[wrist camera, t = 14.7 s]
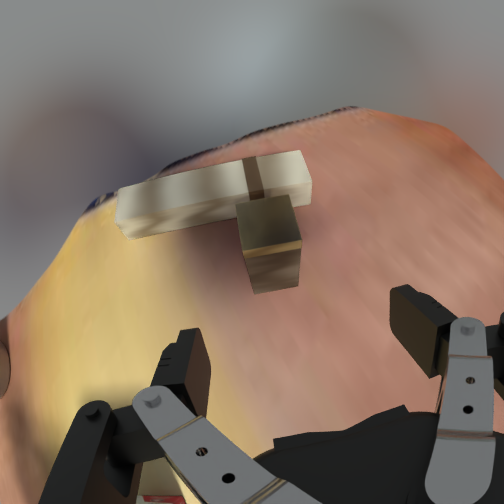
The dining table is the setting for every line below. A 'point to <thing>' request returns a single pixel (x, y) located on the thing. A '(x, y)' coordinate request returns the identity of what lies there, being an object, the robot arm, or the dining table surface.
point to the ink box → (160, 500)
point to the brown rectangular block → (270, 242)
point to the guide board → (210, 193)
